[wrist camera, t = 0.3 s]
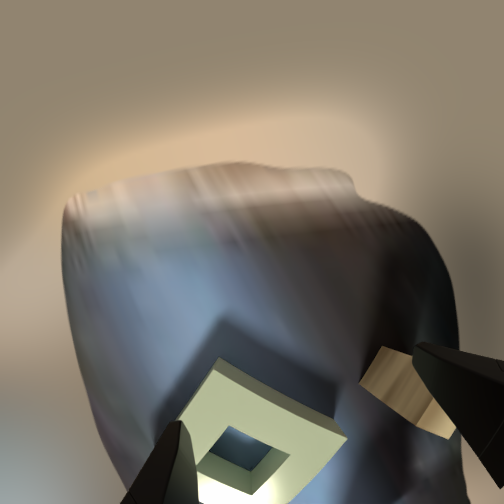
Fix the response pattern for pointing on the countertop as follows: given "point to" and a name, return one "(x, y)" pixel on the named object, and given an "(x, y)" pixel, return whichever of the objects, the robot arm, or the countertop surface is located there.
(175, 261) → the countertop surface
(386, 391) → the peg
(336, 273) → the countertop surface
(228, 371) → the well holder
